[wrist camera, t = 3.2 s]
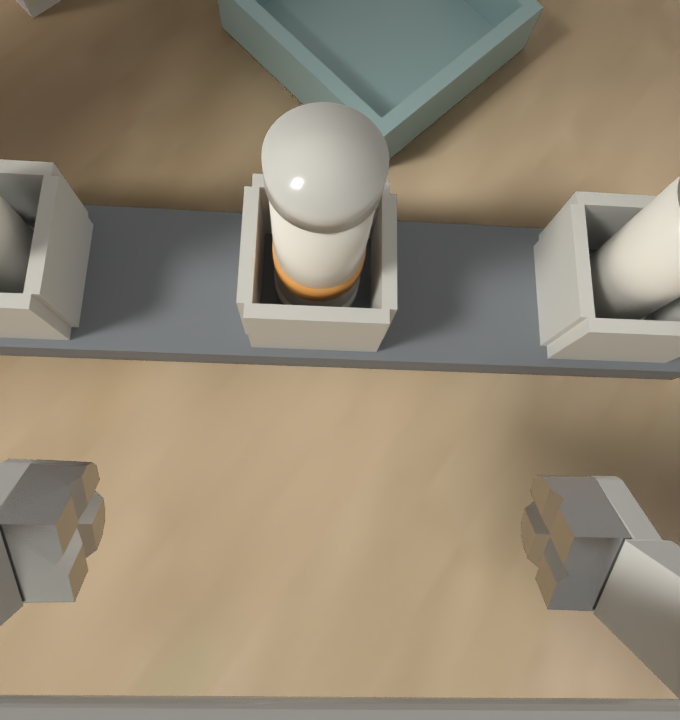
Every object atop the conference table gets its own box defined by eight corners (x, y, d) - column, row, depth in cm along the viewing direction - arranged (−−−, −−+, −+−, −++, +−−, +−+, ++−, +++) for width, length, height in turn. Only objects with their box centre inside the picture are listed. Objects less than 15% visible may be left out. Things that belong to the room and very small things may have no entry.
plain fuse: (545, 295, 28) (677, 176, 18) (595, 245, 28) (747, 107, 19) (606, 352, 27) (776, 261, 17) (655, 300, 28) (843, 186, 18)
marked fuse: (258, 282, 27) (234, 151, 17) (318, 232, 28) (328, 80, 18) (314, 340, 26) (323, 239, 17) (374, 287, 27) (415, 161, 17)
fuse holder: (671, 379, 28) (756, 348, 23) (-73, 352, 26) (-167, 311, 21) (654, 248, 30) (729, 191, 25) (-43, 213, 28) (-123, 143, 23)
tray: (221, 27, 32) (214, -18, 29) (375, -80, 35) (382, -130, 32) (374, 171, 30) (381, 138, 28) (523, 48, 33) (543, 6, 30)
